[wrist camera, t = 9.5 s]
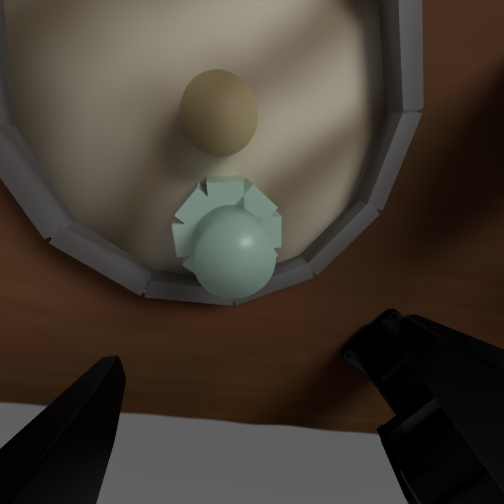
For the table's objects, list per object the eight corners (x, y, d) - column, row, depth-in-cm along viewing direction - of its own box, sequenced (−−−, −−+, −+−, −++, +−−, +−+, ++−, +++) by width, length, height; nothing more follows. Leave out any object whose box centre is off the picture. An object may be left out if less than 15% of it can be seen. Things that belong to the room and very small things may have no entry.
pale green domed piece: (289, 218, 17) (327, 254, 12) (231, 280, 18) (240, 339, 13) (220, 154, 15) (228, 161, 10) (158, 229, 16) (133, 274, 11)
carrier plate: (469, 112, 17) (528, 106, 14) (235, 343, 22) (240, 377, 19) (168, -462, 8) (144, -829, 5) (-120, 132, 13) (-226, 129, 10)
